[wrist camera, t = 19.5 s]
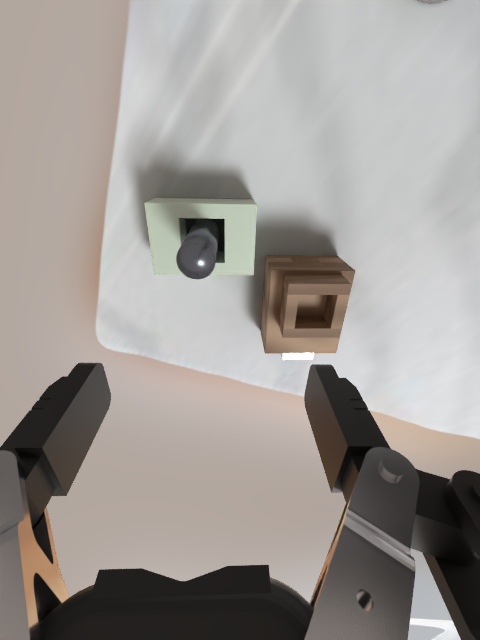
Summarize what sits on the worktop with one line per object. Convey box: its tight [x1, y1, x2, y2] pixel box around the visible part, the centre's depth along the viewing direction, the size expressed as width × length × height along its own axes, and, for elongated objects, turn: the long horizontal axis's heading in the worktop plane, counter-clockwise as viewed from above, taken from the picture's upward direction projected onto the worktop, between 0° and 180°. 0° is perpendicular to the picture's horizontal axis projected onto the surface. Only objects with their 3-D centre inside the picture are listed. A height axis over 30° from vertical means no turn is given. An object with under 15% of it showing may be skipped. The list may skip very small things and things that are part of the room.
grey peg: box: [176, 218, 219, 279], centre depth 31 cm, size 4×4×12 cm
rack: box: [144, 198, 257, 275], centre depth 34 cm, size 8×12×5 cm, turn 89°
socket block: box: [261, 256, 355, 353], centre depth 37 cm, size 12×10×9 cm
